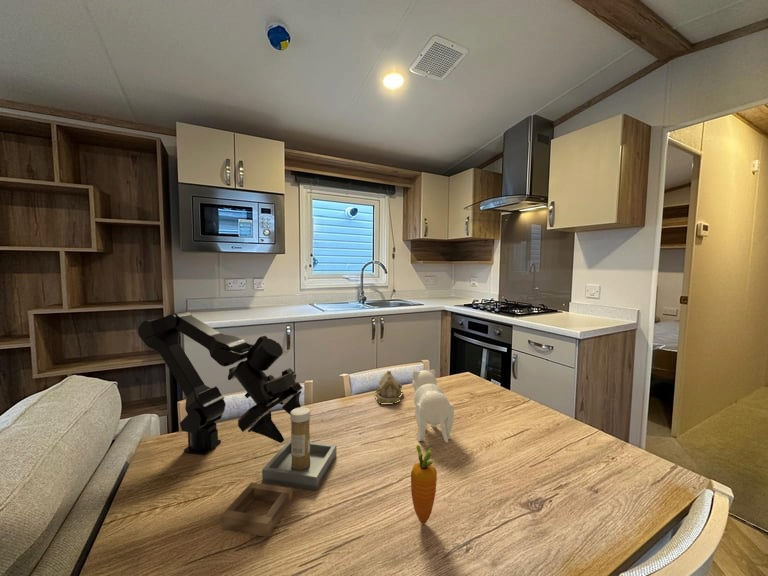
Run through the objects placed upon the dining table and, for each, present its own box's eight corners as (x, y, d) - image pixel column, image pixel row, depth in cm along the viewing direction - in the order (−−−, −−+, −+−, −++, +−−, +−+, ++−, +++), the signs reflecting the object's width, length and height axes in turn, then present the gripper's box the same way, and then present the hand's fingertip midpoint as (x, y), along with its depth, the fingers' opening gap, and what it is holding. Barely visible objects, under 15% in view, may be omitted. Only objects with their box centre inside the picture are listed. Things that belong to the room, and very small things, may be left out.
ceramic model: (374, 390, 128) (374, 365, 127) (402, 390, 128) (402, 365, 128) (373, 405, 114) (374, 378, 113) (405, 405, 114) (405, 378, 113)
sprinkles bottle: (314, 462, 79) (314, 408, 78) (301, 473, 75) (300, 416, 74) (300, 457, 81) (299, 405, 80) (286, 467, 77) (286, 412, 76)
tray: (262, 482, 73) (262, 469, 73) (289, 450, 85) (289, 439, 85) (316, 490, 70) (316, 477, 70) (336, 456, 83) (336, 444, 83)
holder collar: (221, 528, 60) (220, 515, 60) (251, 493, 69) (251, 482, 69) (267, 537, 58) (267, 524, 58) (292, 499, 67) (292, 488, 67)
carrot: (408, 514, 64) (409, 441, 63) (432, 513, 64) (434, 440, 63) (412, 535, 59) (413, 455, 58) (439, 533, 59) (440, 454, 58)
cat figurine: (467, 456, 84) (468, 393, 82) (428, 460, 81) (429, 396, 80) (433, 413, 108) (434, 364, 107) (403, 416, 106) (403, 366, 105)
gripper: (248, 373, 69) (292, 431, 67) (296, 352, 87) (332, 397, 85) (219, 403, 72) (261, 460, 70) (271, 377, 90) (306, 421, 88)
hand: (294, 431), depth 78 cm, fingers open, 9 cm apart
